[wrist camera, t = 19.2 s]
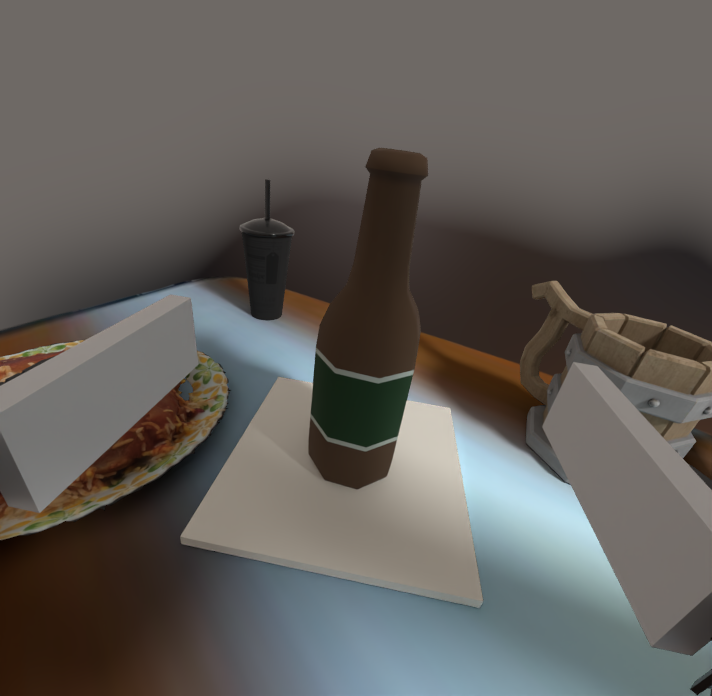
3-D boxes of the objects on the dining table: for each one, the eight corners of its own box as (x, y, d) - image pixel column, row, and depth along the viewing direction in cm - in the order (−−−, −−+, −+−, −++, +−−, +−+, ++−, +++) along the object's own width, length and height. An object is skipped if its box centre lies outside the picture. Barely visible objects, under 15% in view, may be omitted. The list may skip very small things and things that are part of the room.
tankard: (689, 489, 34) (800, 358, 27) (600, 518, 30) (705, 370, 23) (536, 376, 50) (581, 275, 43) (464, 384, 46) (501, 273, 39)
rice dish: (-195, 430, 29) (-245, 377, 26) (143, 325, 49) (135, 289, 47) (-136, 712, 16) (-221, 666, 14) (287, 414, 37) (287, 372, 34)
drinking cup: (298, 312, 60) (305, 183, 50) (274, 328, 53) (277, 184, 44) (260, 301, 62) (259, 175, 52) (232, 315, 55) (225, 175, 46)
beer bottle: (288, 457, 30) (303, 136, 19) (343, 415, 36) (380, 150, 25) (360, 510, 27) (433, 151, 15) (409, 454, 32) (487, 164, 21)
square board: (448, 413, 40) (450, 408, 40) (479, 608, 22) (483, 601, 22) (278, 382, 41) (278, 376, 41) (181, 544, 24) (180, 536, 23)
